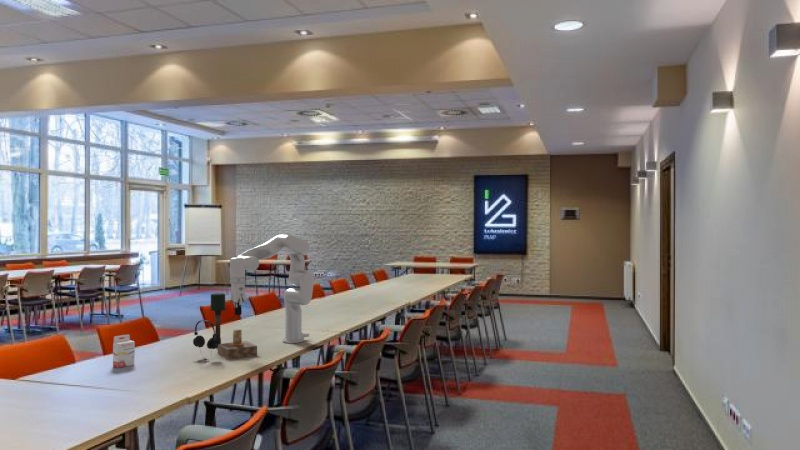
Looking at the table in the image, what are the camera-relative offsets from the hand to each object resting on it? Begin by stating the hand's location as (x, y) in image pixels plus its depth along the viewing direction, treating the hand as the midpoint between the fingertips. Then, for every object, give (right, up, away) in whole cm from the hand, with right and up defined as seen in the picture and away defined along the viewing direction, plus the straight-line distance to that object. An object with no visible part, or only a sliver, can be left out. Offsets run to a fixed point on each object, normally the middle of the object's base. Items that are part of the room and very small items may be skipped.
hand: (238, 314), depth 304 cm
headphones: (-15, -21, -13) cm, 29 cm away
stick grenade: (-16, -21, +18) cm, 32 cm away
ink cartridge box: (-49, -21, -25) cm, 59 cm away
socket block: (0, -21, 0) cm, 21 cm away
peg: (0, -21, 0) cm, 21 cm away
